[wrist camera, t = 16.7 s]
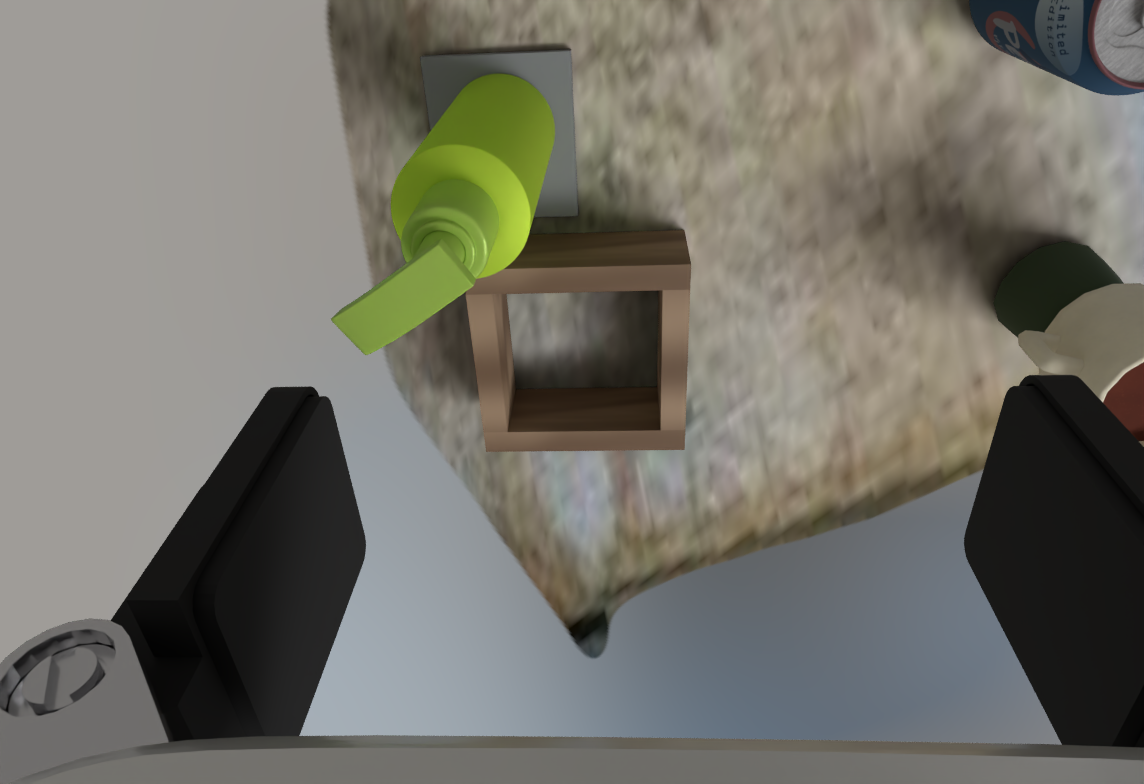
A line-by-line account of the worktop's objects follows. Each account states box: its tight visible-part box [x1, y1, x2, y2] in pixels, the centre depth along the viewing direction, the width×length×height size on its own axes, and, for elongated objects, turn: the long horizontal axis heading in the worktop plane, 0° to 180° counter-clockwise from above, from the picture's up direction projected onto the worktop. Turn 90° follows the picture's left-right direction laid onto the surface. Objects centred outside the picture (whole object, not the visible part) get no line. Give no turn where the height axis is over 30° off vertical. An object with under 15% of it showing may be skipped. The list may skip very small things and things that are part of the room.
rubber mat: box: [420, 49, 578, 217], centre depth 45 cm, size 9×8×1 cm
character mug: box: [994, 241, 1144, 447], centre depth 43 cm, size 11×7×13 cm, turn 79°
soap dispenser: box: [331, 74, 555, 355], centre depth 36 cm, size 6×7×20 cm
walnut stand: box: [465, 230, 691, 452], centre depth 49 cm, size 12×12×5 cm
